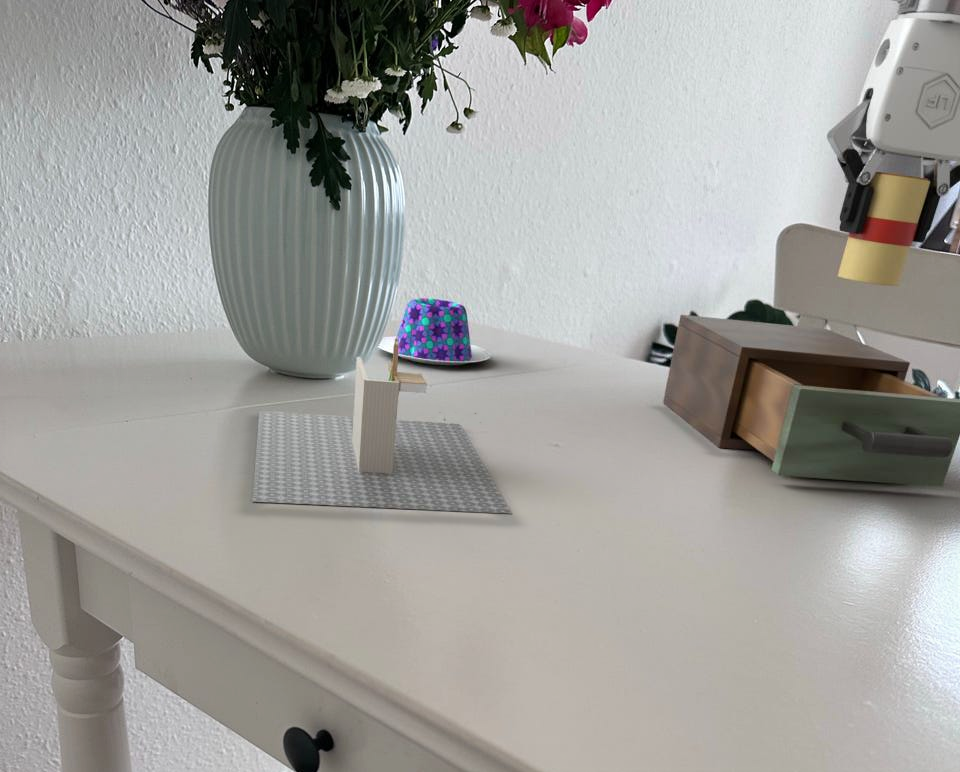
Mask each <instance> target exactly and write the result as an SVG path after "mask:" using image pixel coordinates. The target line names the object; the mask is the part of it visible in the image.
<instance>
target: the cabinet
mask: <svg viewBox="0 0 960 772" xmlns="http://www.w3.org/2000/svg"><path fill="white" fill-rule="evenodd" d="M749 358H756V359H767V360H778V361H789V362H800V363H811V364H822V365H833V366H844V367H855V368H866V369H877V370H881V371H883V372H886V373H888V374H890V375H893V376H895V377H897V378H899V379H902V380H904V381H906V378H907V374H908V373H907V372H908V371H909V368H910V365H911V362H910V361H907V360H905V359H902V358H900V357H898V356H895V355H893V354H890V353H888V352H885V351H883V350H880V349H878V348H875V347H873V346H870V345H867V344H865V343H863V342H860V341H858V340H855V339H852V338H850V337H847V336H845V335H843V334H841V333H838V332H835V331H833V330H830V329H828V328H820V327H810V326H800V325H792V324H791V325H789V324H779V323H770V322H769V323H768V322H759V321H750V320H739V319H731V318H719V317H708V316H700V315H699V316H698V315H688V314H680V316H679V321H678V326H677V331H676V335H675V339H674V346H673V349H672V355H671V360H670V365H669V369H668V375H667V381H666V384H665V391H664V396H663V399H662V403H663V404H664V405H665V406H667V408H669V409H670V410H671V411H673V412H674V413H675V414H676V415H678V416H679V417H680V418H681V419H683V420H684V421H685V422H687V424H689V425H690V426H691V427H692V428H693V429H695V430H696V431H698V432H699V433H700V435H702V436H704V437H705V438H706V439H707V440H709V441H710V442H711V443H712V444H714V445H715V446H716V447H717V448H718V449H731V450H744V451H745V450H746V451H759V450H757V449H756V448H755V447H753V446H752V445H751V444H749V443H748V442H747V441H745V440H744V439H743V438H741V437H740V436H738V435H737V434H736V433H734V432H733V431H732V427H733V423H734V419H735V414H736V410H737V406H738V402H739V398H740V393H741V389H742V385H743V381H744V376H745V372H746V368H747V364H748V359H749ZM759 452H760V451H759Z"/></svg>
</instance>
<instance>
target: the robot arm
mask: <svg viewBox="0 0 960 772" xmlns="http://www.w3.org/2000/svg"><path fill="white" fill-rule="evenodd" d="M892 1H893V2H897V3H898V4H899V7H898V11H897V14H898V17H897V18H896V19H893V20H891V21H890V22H889V25H888V26H887V28H886V31H885V33H884V34H883V37H882V39H881V41H880V44H879V46H878V47H877V50H876V53H875V55H874V58H873V60H872V63H871V65H870V68H869V70H868V73H867V76H866V79H865V81H864V84H863V87H862V90H861V93H860V96H859V100H858V103H857V106H856V107H855V108H854V109H853V110H851V111H850V112H849V113H848V114H847V115H846V116H844V118H842V119H841V120H840V121H839V122H837V124H836V125H835V126H833V127H832V128H831V129H830V130H829V131H828V132H827V134H826V139H827V141H828V143H829V146H830V147H831V149H832V151H833V153H834V154H835V155H836V158H837V162H838V164H839V166H840V168H841V170H842V172H843V174H844V181H845V183H847V188H846V193H845V196H844V199H843V203H842V207H841V210H840V214H839V221H840V224H839V231H840V232H843V233H844V232H845V233H848V234H849V233H853V234H860V233H861V232H862V231H863V227H864V224H865V220H866V217H867V213H868V210H869V206H870V203H871V199H872V196H873V192H874V189H873V188H874V187H872V186H869V185H870V182H871V179H872V178H873V176H874V175H875V173H876V172H878V170H879V168H880V166H881V165H882V163H883V162H884V160H885V158H886V157H887V155H895V156H900V157H901V156H902V157H909V158H915V159H920V178H926V179H929V180H928V181H930V185H929V188H928V191H927V195H926V198H925V201H924V204H923V208H922V211H921V214H920V217H919V221H918V226H917V229H916V232H915V235H914V239H913V242H914V243H920V244H923V243H924V242H925V240H926V238H927V234H928V233H929V232H930V230H931V228H932V225H933V221H934V219H935V215H936V212H937V210H938V206H939V203H940V200H941V197H945V196H946V195H947V194H948V193H949V191H950V190H951V189H952V188H953V187H954V186H955V185H957V184H958V183H959V182H960V0H892ZM854 146H855V147H857V148H858V149H859V151H858V150H857V149H855V147H854ZM951 162H954V163H953V164H951Z"/></svg>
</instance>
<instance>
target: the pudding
mask: <svg viewBox="0 0 960 772" xmlns="http://www.w3.org/2000/svg"><path fill="white" fill-rule="evenodd" d="M469 329H470V328H469V321H468V313H467V310H466V307H465V306H464V305H463V304H461V303H457V302H454V301H450V300H444V299H439V298H423V297H420V298H413V299H411V300H409V301H408V303H407V304H406V306H405V310H404V312H403V315H402V319H401V322H400V325H399V329H398V331H397V334H396V335H393V336H392V335H391V336H385V337H382V338H383V339H382V341H381V343H380V344H379V346H378V347H377V348H378V349H380V350H383V351H384V352H387V353H390V354H392V355H393V349H394V344H395V338H396V339H398V343H399V352H398V358H399V357H400V358H401V359H405V360H408V361H411V362H415V363H422V364H428V365H429V364H430V365H437V366H438V365H439V366H461V365H466V364H471V363H480V362H483V361H487V360H489V359H491V358H492V353H491V352H490V351H488V350H487V349H485V348H483V347H481V346H477V345H474V344H471V338H470V337H471V336H470V330H469Z"/></svg>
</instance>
